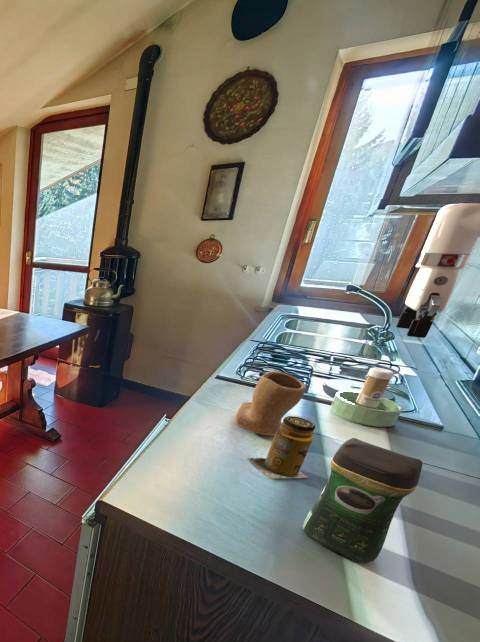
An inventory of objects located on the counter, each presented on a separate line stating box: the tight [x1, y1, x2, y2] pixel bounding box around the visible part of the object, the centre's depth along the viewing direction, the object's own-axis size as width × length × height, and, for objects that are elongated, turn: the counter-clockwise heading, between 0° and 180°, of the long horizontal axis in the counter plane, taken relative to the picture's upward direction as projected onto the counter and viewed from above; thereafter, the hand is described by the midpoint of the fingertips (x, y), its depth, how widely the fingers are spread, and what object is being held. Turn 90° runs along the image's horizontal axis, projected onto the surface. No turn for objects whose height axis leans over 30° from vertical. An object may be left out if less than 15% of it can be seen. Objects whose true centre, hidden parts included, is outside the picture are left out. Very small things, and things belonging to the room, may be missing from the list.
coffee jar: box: [302, 437, 423, 563], centre depth 63 cm, size 10×8×19 cm
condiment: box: [246, 415, 316, 480], centre depth 83 cm, size 7×8×12 cm
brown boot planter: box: [234, 371, 307, 437], centre depth 100 cm, size 15×12×15 cm
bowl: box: [329, 390, 404, 428], centre depth 107 cm, size 13×13×5 cm
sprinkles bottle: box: [355, 367, 395, 409], centre depth 105 cm, size 5×5×13 cm
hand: (409, 332), depth 98 cm, fingers open, 9 cm apart
